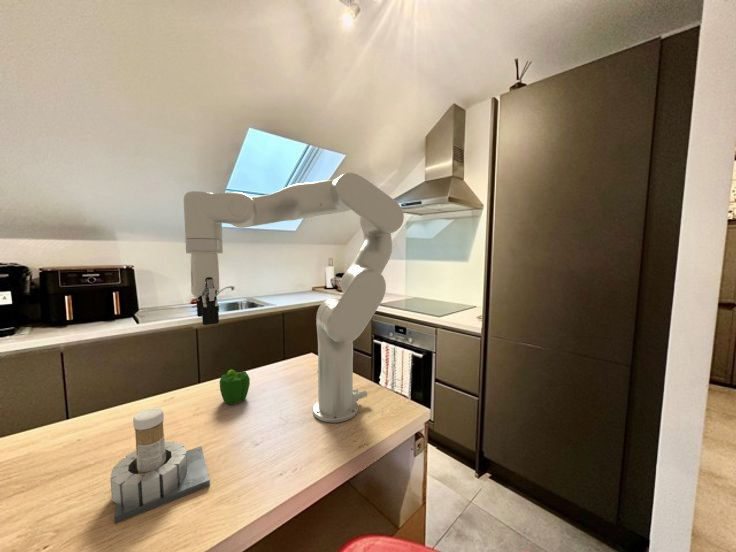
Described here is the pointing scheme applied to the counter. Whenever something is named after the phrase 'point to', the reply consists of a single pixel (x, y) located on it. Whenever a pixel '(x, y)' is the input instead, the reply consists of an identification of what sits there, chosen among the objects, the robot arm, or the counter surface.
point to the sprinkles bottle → (149, 440)
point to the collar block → (157, 480)
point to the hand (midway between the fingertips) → (207, 319)
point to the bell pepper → (234, 386)
